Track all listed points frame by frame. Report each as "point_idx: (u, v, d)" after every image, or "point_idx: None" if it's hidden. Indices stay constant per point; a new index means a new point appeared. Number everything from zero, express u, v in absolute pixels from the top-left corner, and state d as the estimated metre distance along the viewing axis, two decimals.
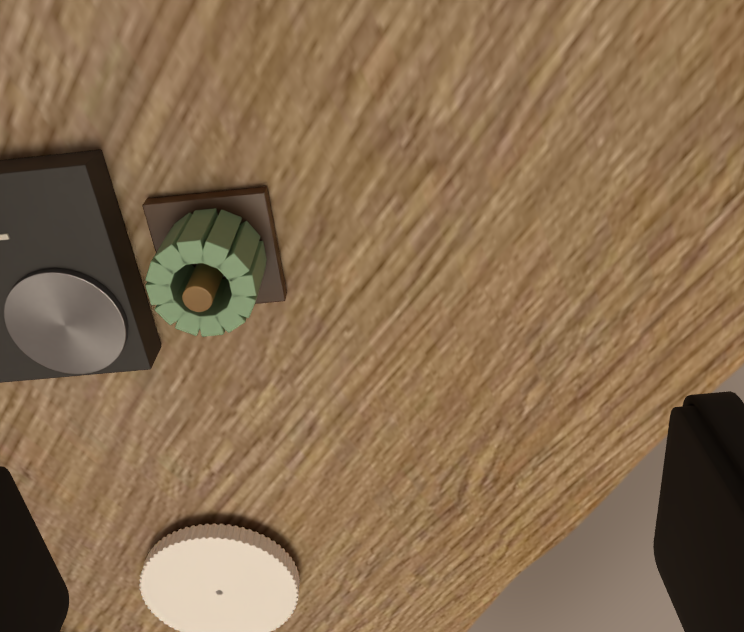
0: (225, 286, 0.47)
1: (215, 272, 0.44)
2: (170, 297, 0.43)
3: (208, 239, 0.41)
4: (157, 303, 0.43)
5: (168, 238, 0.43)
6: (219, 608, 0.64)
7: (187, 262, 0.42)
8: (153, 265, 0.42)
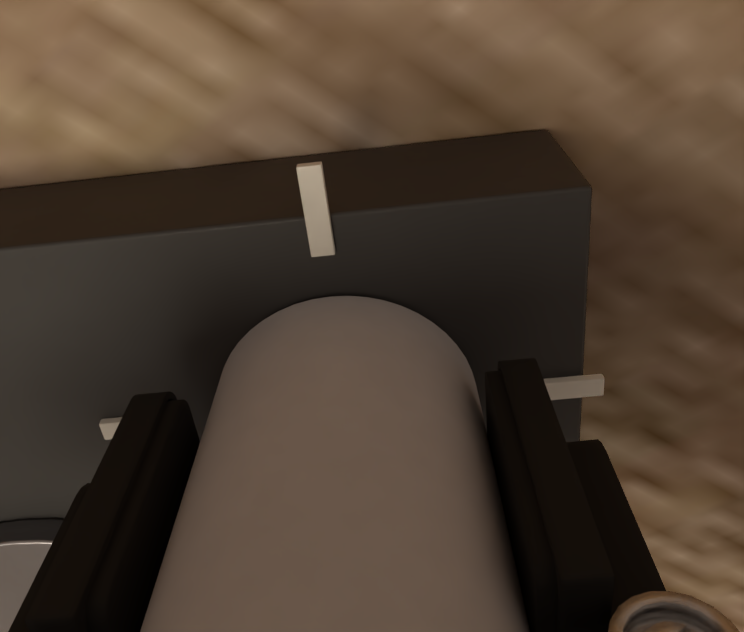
0: None
1: None
2: None
3: None
4: None
5: None
6: None
7: None
8: None
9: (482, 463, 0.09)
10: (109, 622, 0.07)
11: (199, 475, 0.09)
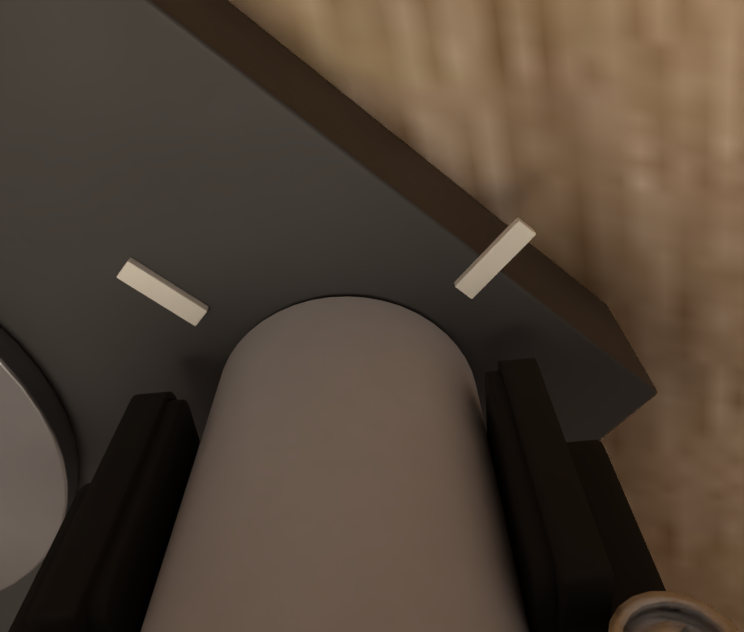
0: None
1: None
2: None
3: None
4: None
5: None
6: None
7: None
8: None
9: (481, 463, 0.09)
10: (109, 622, 0.07)
11: (199, 476, 0.09)
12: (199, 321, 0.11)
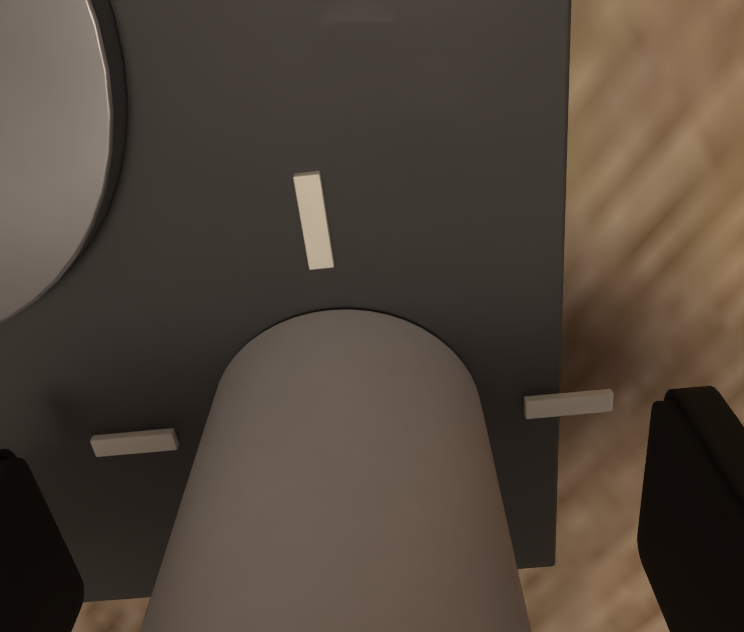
0: None
1: None
2: None
3: None
4: None
5: None
6: None
7: None
8: None
9: (489, 490, 0.09)
10: None
11: (193, 499, 0.08)
12: (313, 267, 0.10)
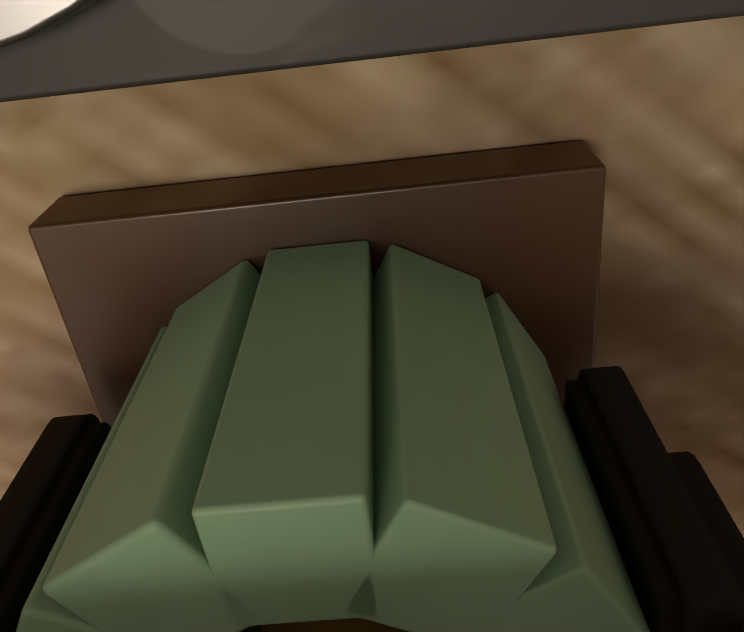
0: None
1: None
2: (274, 615, 0.06)
3: None
4: (213, 547, 0.06)
5: (561, 447, 0.08)
6: None
7: None
8: (524, 559, 0.06)
9: None
10: None
11: None
12: None
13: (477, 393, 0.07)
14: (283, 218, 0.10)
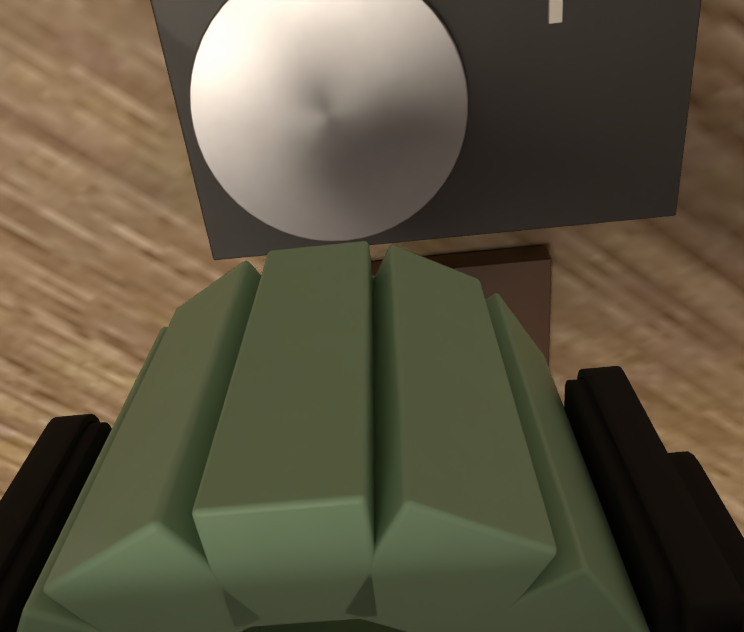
0: None
1: None
2: (275, 616, 0.06)
3: None
4: (213, 548, 0.06)
5: (561, 448, 0.08)
6: None
7: None
8: (524, 560, 0.06)
9: None
10: None
11: None
12: None
13: (477, 394, 0.07)
14: None
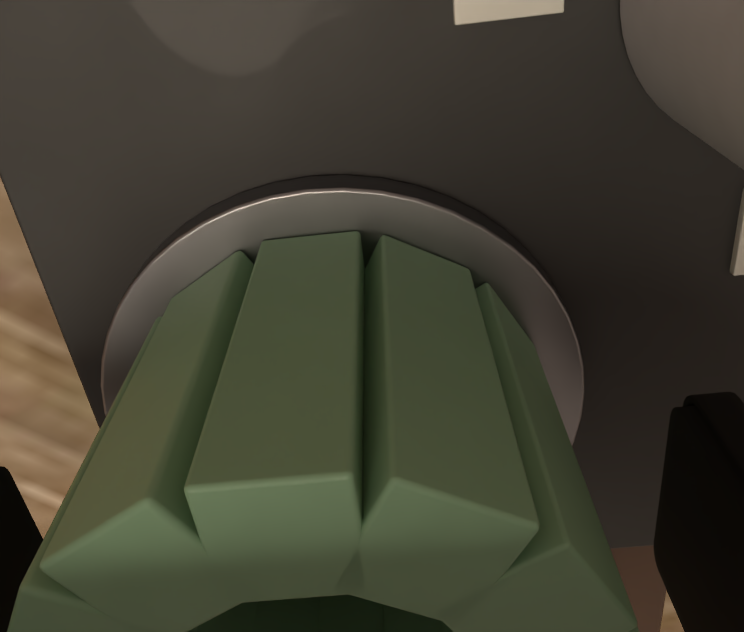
0: None
1: None
2: (266, 591, 0.06)
3: None
4: (205, 524, 0.06)
5: (548, 431, 0.08)
6: None
7: None
8: (508, 535, 0.06)
9: None
10: None
11: None
12: (563, 6, 0.09)
13: (465, 377, 0.08)
14: None
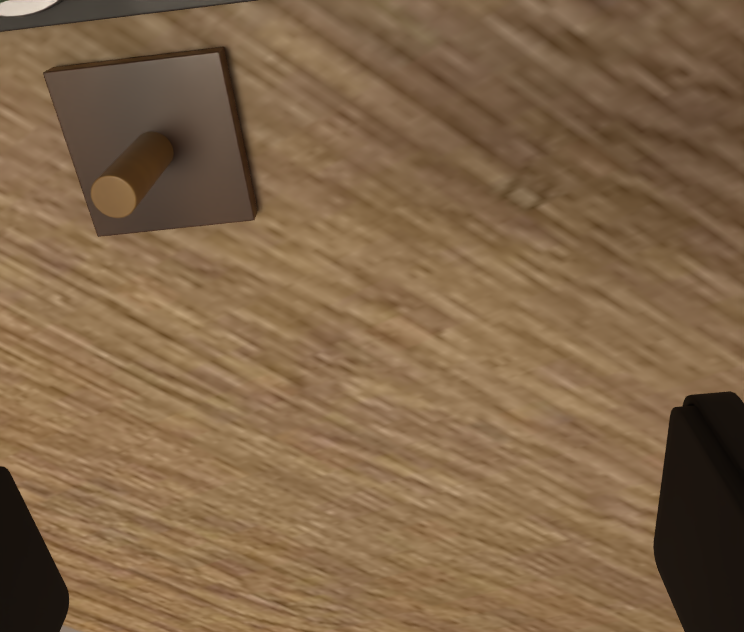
0: None
1: None
2: None
3: None
4: None
5: None
6: None
7: None
8: None
9: None
10: None
11: None
12: None
13: None
14: (122, 69, 0.31)
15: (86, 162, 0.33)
